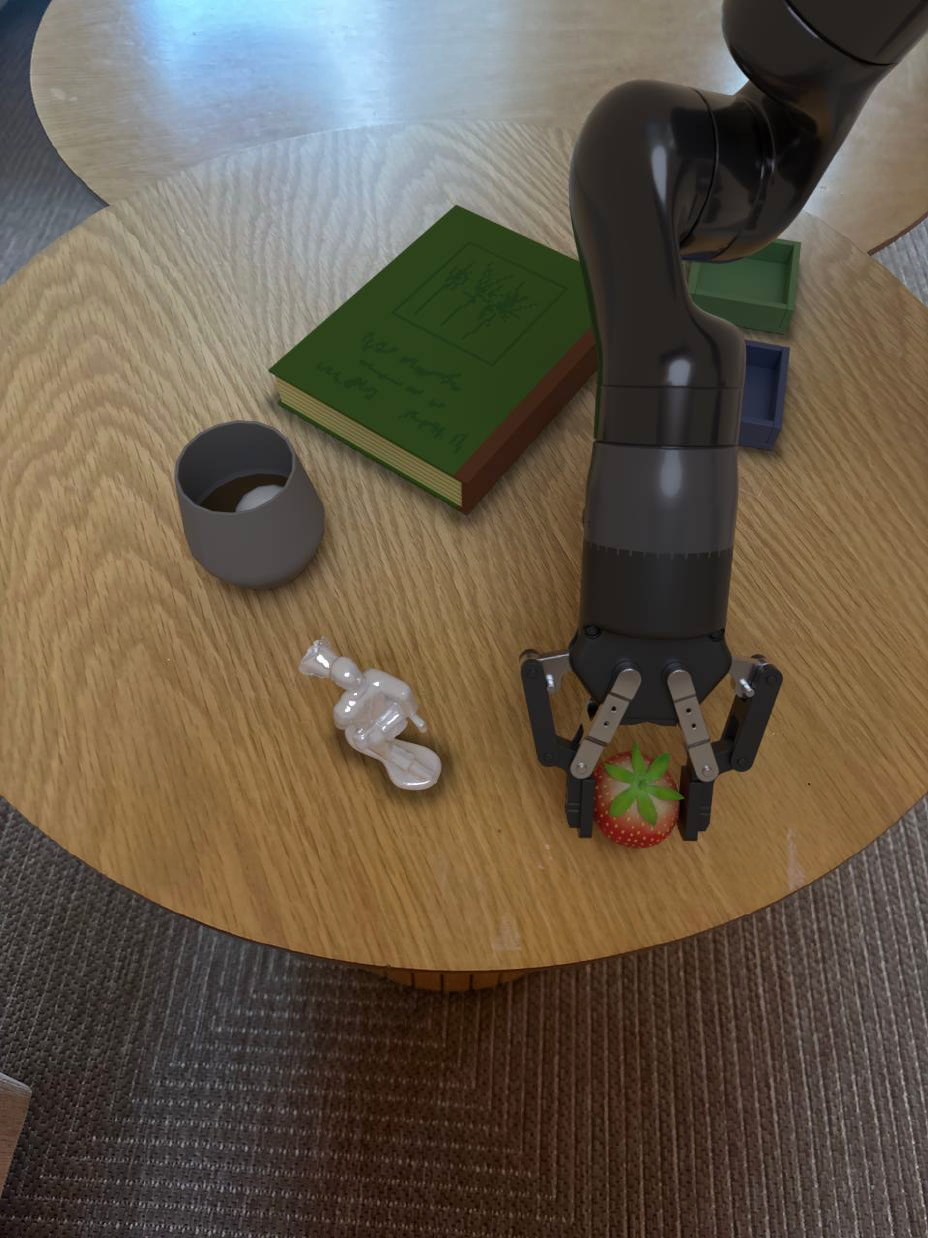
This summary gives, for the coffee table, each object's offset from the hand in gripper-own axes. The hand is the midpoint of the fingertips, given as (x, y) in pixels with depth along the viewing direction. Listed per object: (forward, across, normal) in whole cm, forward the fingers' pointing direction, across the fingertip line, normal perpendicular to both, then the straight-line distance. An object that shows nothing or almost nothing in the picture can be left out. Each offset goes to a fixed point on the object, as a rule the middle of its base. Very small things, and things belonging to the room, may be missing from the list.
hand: (635, 831), depth 49 cm
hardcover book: (-25, -11, +32) cm, 42 cm away
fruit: (+2, 0, +4) cm, 5 cm away
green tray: (-32, +13, +38) cm, 51 cm away
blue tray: (-23, +10, +29) cm, 38 cm away
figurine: (-1, -15, +8) cm, 17 cm away
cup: (-12, -24, +18) cm, 32 cm away
